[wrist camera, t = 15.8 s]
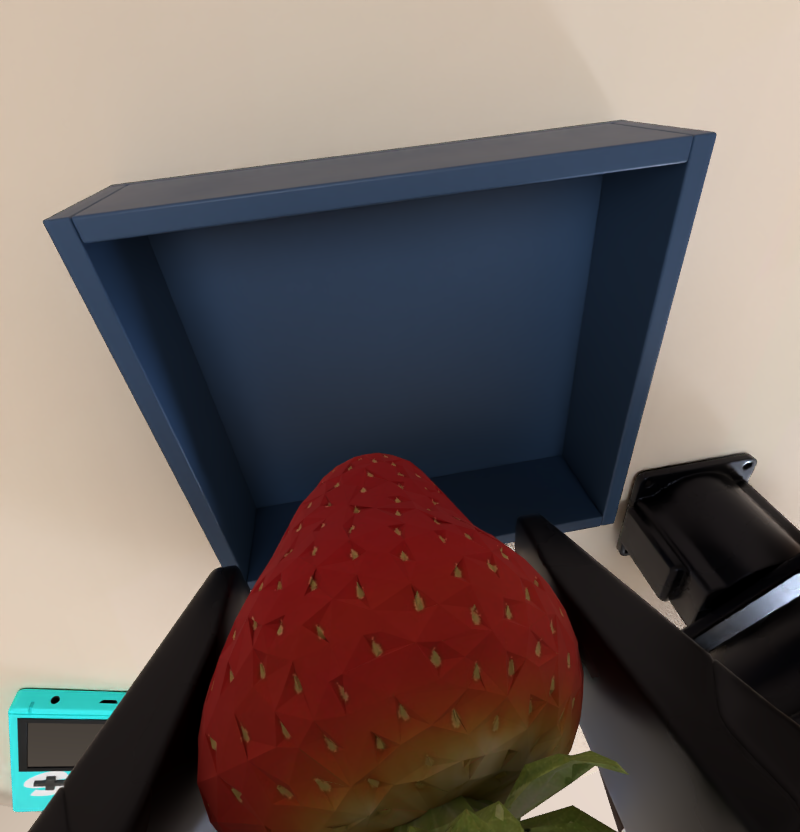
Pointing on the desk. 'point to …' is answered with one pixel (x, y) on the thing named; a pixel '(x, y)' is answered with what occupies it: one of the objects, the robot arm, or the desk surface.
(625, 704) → the robot arm
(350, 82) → the desk surface
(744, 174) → the desk surface
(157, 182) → the blue box
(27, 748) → the handheld game console
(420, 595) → the fruit
